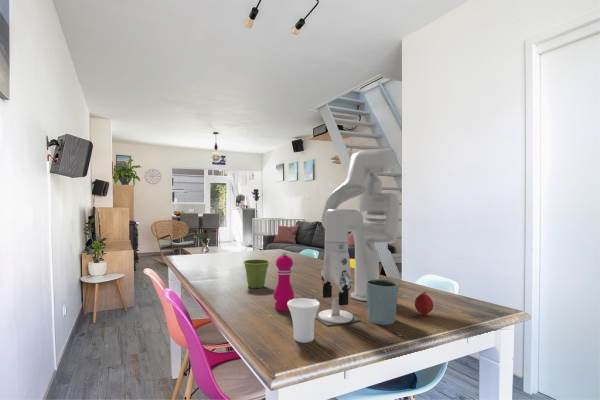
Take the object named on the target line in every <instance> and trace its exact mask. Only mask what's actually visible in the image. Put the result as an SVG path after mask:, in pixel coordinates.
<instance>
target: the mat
mask: <svg viewBox="0 0 600 400" xmlns="http://www.w3.org/2000/svg"><path fill="white" fill-rule="evenodd" d="M315 320H316V321H319V322H320V323H321V324H323V325H324V326H326V327H332V326H338V325H345V324H351V323H357V322H361V319H360V318H358V317H357V316H355V315H353V320H351V321H350V322H346V323H331V322H326V321H323V320H321V319H320V318H319V313H316V317H315Z"/></svg>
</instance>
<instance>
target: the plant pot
mask: <svg viewBox="0 0 600 400" xmlns="http://www.w3.org/2000/svg"><path fill="white" fill-rule="evenodd" d="M270 263H271V261H270V260H267V259H255V258H254V259H246V260H243V264H244V269H245V274H246V281H247V282H246V283H247V286H248V288H250V289H251V288H252V289H256V288H257V289H261V288H263V287H265V283H266V278H267V272H268V268H269V265H270Z"/></svg>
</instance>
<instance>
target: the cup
mask: <svg viewBox="0 0 600 400" xmlns="http://www.w3.org/2000/svg"><path fill="white" fill-rule="evenodd" d="M287 305H288V308H289V310H288V311H289V312H290V315H291V319H292V325H293V326H292V328H293V340H294V341H295V342H296V343H297V342H298V343H303V344H307V343H311V342H313V341H314V339H315V321H316V319H315V317H316V314H318V311H319V308H320V305H321V303H320V302H319V300H318V299H317V298H313V299H312V298H304V297H303V298H302V297H301V298H293V299H292V300H289V301H288V302H287Z"/></svg>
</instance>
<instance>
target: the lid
mask: <svg viewBox="0 0 600 400" xmlns="http://www.w3.org/2000/svg"><path fill="white" fill-rule="evenodd" d="M318 314H319V318H320V319H321V320H323V321H326V322H331V323H345V324H347V323H346V322H350V321H351V320H353V316H354V314H353V313H351V312H350V311H347V310H343V309H341V306H340V305H339V297H334V296H333V297H331V309H324V310H322V311H320V312H318Z"/></svg>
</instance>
